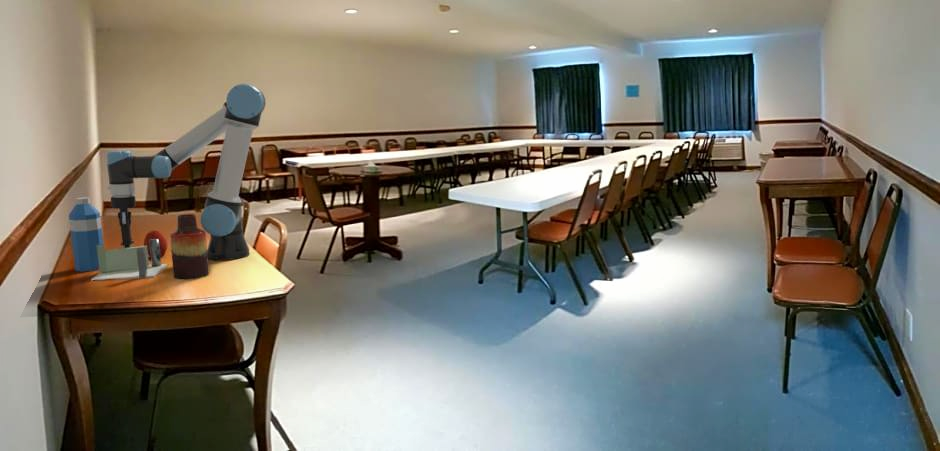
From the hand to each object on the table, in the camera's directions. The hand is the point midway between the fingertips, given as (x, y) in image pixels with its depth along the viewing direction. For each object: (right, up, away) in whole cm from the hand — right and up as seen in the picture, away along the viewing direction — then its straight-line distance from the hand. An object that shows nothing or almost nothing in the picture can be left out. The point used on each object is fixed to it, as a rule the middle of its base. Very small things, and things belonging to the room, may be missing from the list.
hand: (129, 262), depth 229 cm
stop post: (+11, -4, -13) cm, 17 cm away
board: (+4, -3, -6) cm, 8 cm away
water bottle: (-15, -2, +2) cm, 15 cm away
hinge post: (+9, -2, +2) cm, 9 cm away
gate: (+1, -2, -4) cm, 5 cm away
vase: (+27, -4, -11) cm, 29 cm away
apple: (0, +1, +20) cm, 20 cm away
